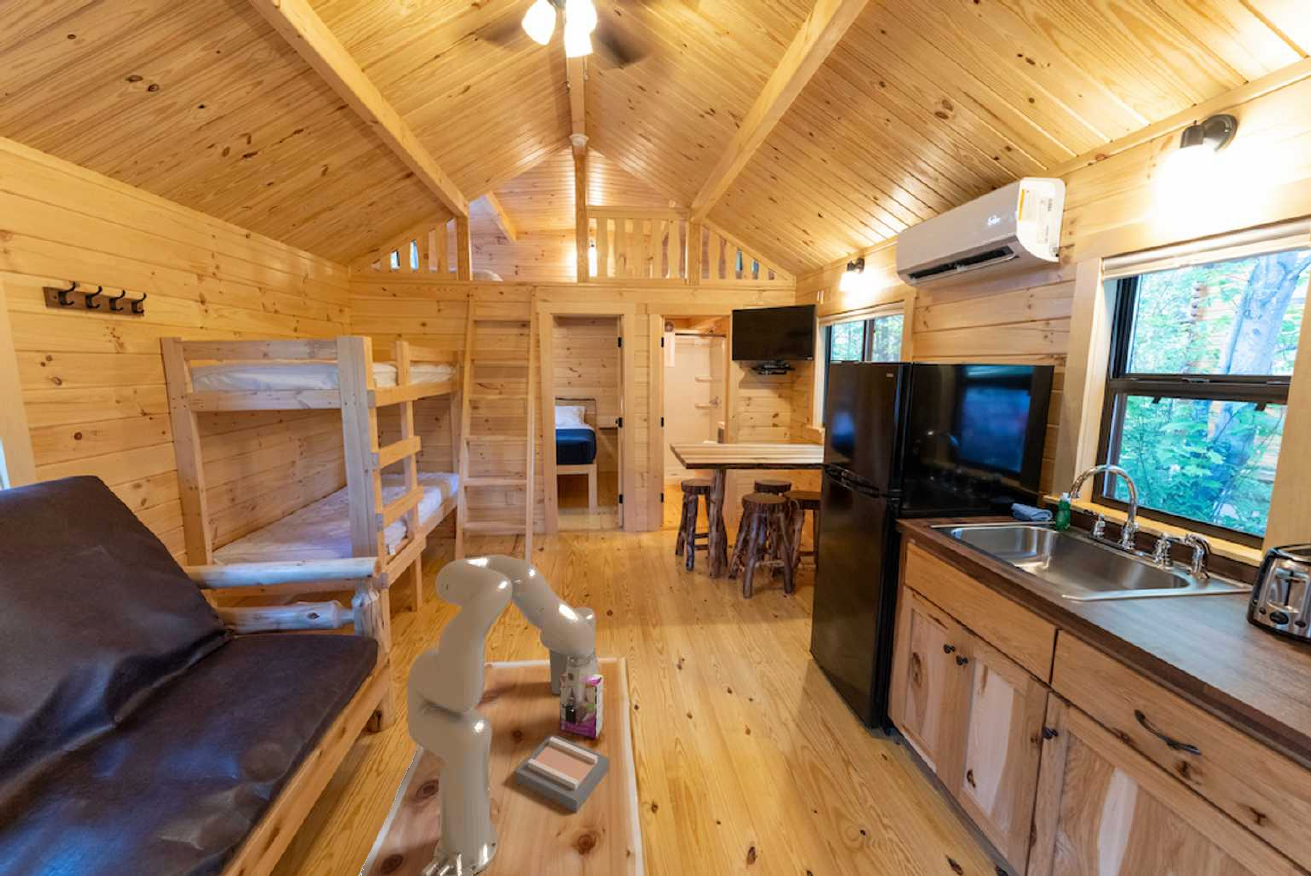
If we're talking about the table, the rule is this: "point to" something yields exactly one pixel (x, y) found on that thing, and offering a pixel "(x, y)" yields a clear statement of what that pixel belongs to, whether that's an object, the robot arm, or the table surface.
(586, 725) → the candy bar box
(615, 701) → the table surface
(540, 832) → the table surface
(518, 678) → the table surface
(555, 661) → the skincare box
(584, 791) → the display plinth
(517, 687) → the table surface
